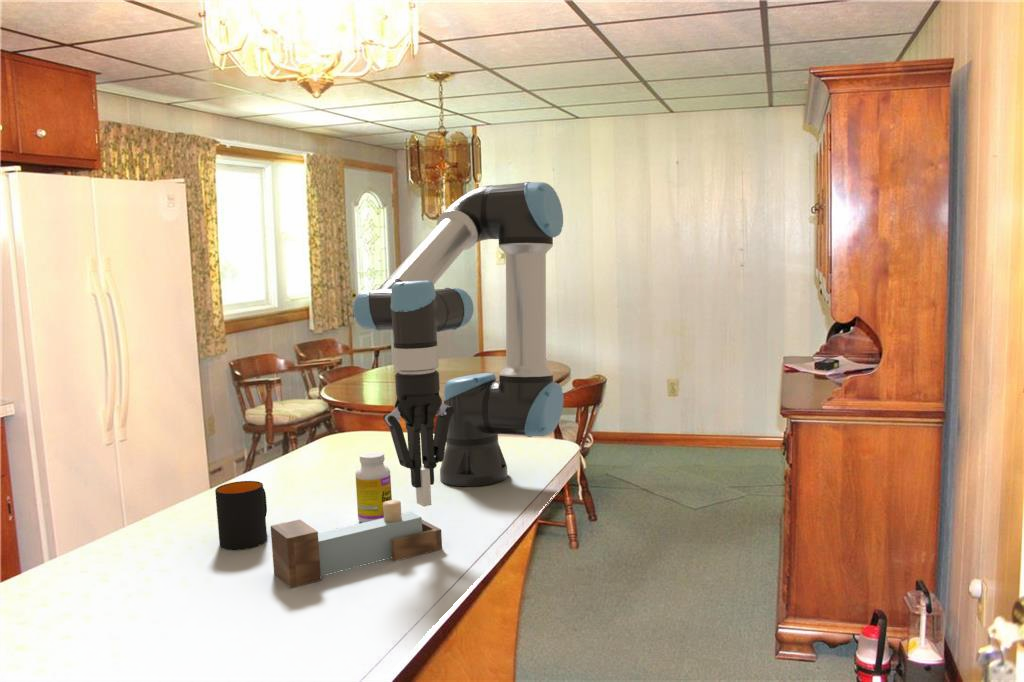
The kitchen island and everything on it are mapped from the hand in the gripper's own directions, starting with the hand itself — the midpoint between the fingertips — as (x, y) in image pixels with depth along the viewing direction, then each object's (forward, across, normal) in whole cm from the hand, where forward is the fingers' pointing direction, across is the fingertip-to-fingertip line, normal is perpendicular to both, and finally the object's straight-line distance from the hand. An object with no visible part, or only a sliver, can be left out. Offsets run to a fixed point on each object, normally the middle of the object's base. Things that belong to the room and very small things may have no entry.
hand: (424, 504), depth 153 cm
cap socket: (+7, +23, 0) cm, 25 cm away
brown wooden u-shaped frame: (+7, +3, 0) cm, 8 cm away
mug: (+8, +24, -24) cm, 35 cm away
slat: (+8, +11, 0) cm, 13 cm away
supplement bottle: (+8, +1, -19) cm, 21 cm away
